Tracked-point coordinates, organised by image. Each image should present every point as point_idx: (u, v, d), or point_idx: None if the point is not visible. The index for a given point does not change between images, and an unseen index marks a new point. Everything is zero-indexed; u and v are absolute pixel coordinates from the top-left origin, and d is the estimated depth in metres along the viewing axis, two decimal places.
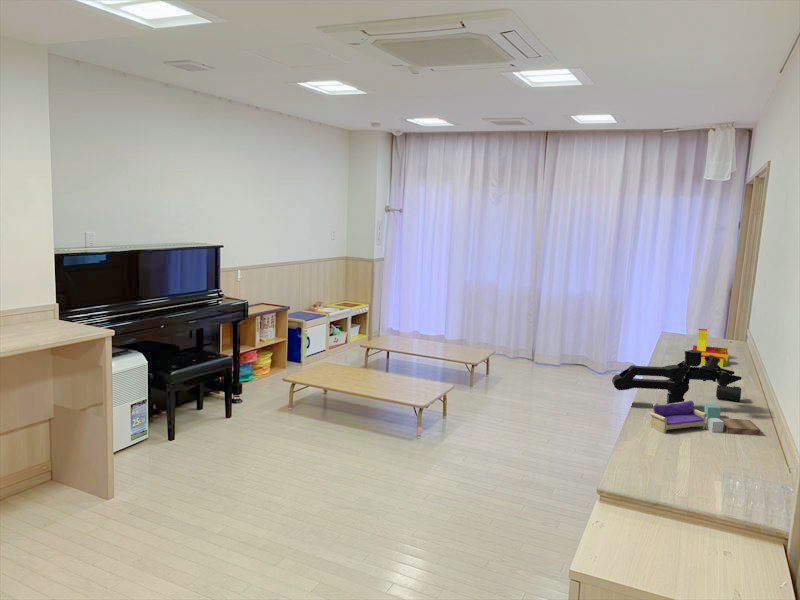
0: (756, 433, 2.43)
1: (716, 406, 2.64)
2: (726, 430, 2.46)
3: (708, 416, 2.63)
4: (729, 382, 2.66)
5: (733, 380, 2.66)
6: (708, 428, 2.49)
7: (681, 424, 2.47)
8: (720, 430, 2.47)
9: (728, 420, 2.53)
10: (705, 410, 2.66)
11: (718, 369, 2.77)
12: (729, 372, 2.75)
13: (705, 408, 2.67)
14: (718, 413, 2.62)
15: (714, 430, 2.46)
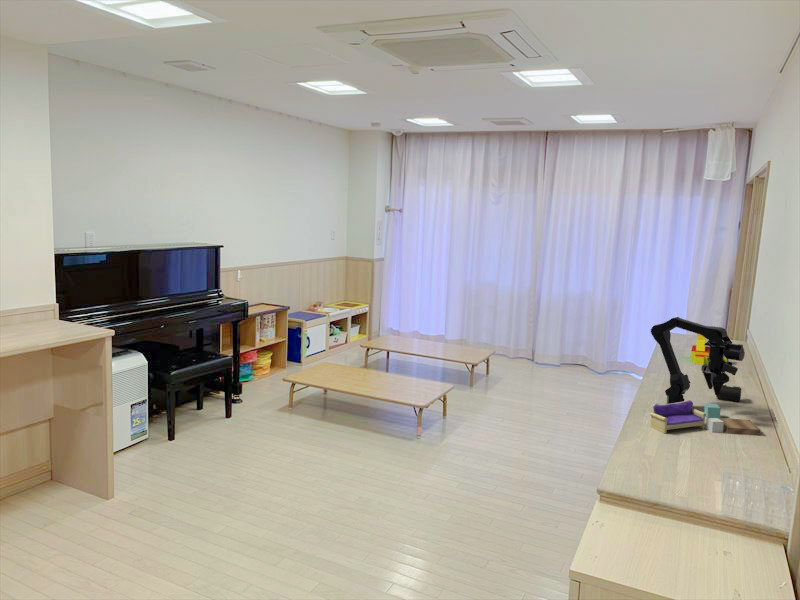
0: (756, 433, 2.43)
1: (716, 406, 2.64)
2: (726, 430, 2.46)
3: (708, 416, 2.63)
4: (714, 384, 2.58)
5: (715, 387, 2.58)
6: (708, 428, 2.49)
7: (681, 424, 2.47)
8: (720, 430, 2.47)
9: (728, 420, 2.53)
10: (705, 409, 2.66)
11: None
12: (710, 384, 2.68)
13: (705, 408, 2.67)
14: (718, 413, 2.62)
15: (714, 430, 2.46)
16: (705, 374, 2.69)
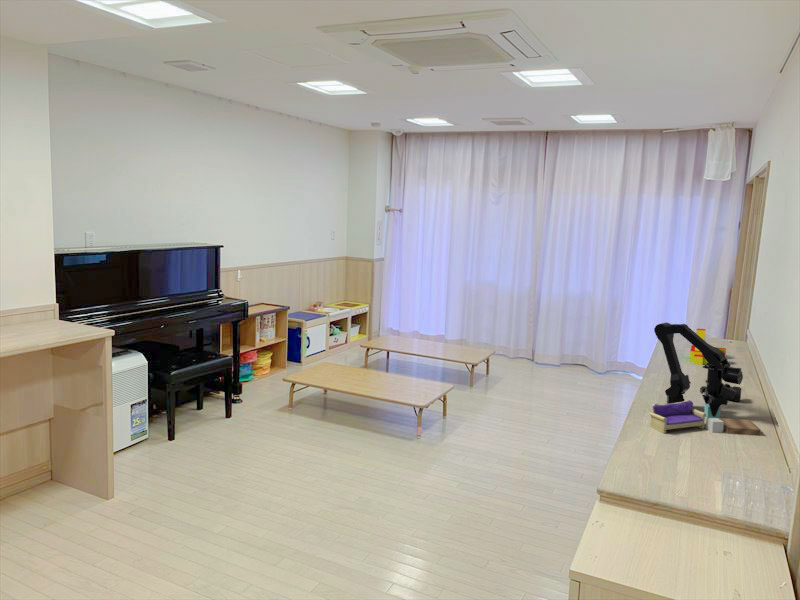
0: (756, 433, 2.43)
1: None
2: (726, 430, 2.46)
3: (708, 416, 2.63)
4: (711, 405, 2.61)
5: (712, 409, 2.61)
6: (708, 428, 2.49)
7: (681, 424, 2.47)
8: (720, 430, 2.47)
9: (728, 420, 2.53)
10: (705, 409, 2.66)
11: None
12: None
13: (705, 408, 2.67)
14: (718, 413, 2.62)
15: (714, 430, 2.46)
16: (705, 397, 2.68)
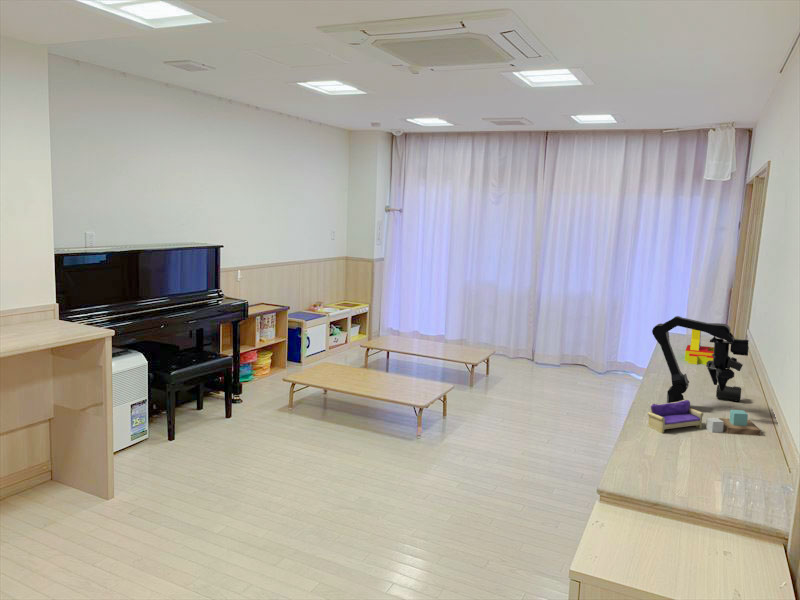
0: (756, 433, 2.43)
1: (743, 412, 2.48)
2: (726, 430, 2.46)
3: (734, 423, 2.48)
4: (719, 379, 2.61)
5: (720, 383, 2.61)
6: (708, 428, 2.49)
7: (678, 423, 2.47)
8: (720, 430, 2.47)
9: (728, 420, 2.53)
10: (731, 416, 2.50)
11: None
12: (715, 380, 2.71)
13: (731, 414, 2.51)
14: (745, 420, 2.47)
15: (714, 430, 2.46)
16: (710, 370, 2.72)
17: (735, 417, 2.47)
